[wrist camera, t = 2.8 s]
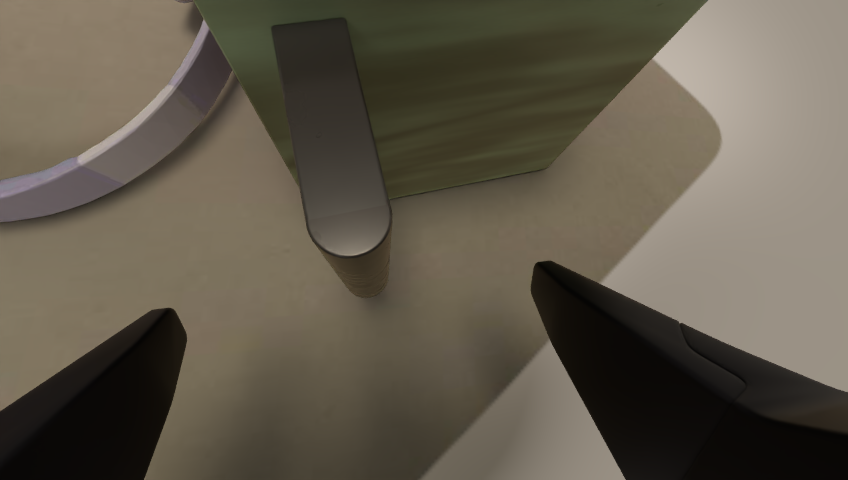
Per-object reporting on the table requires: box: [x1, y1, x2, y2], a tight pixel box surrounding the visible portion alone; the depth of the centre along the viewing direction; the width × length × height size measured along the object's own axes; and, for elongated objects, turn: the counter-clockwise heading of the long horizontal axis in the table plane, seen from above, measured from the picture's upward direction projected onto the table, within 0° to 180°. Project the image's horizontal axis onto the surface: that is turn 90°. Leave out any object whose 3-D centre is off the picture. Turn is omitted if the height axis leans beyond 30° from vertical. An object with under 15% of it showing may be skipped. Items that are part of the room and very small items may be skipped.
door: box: [193, 0, 708, 298], centre depth 13 cm, size 6×13×14 cm, turn 104°
